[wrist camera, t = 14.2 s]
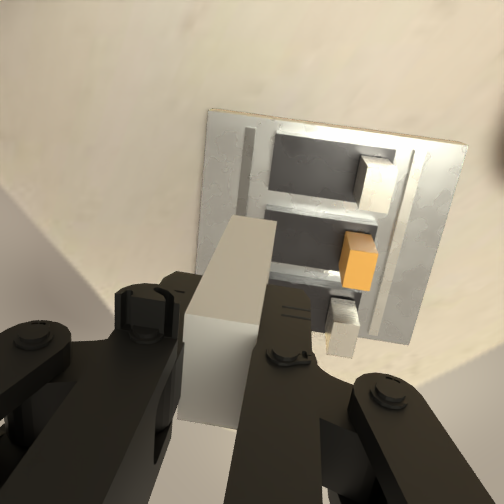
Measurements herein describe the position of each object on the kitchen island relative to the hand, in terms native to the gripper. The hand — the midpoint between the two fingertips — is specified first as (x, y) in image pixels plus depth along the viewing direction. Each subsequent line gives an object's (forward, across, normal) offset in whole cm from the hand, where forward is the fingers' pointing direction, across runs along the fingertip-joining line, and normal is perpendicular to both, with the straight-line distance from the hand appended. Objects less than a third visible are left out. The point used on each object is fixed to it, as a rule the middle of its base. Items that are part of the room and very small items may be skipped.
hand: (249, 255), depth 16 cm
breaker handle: (+21, +7, -7) cm, 23 cm away
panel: (+24, +4, -7) cm, 26 cm away
